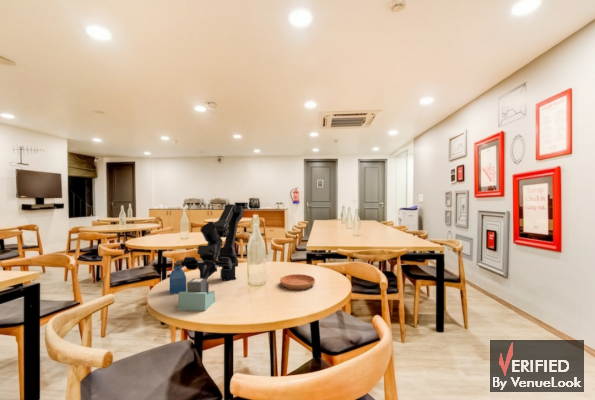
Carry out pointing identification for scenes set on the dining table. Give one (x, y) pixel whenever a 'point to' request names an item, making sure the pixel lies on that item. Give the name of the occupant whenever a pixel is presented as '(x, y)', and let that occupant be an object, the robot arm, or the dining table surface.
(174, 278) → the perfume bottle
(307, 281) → the saucer
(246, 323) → the dining table surface
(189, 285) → the grey block
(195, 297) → the socket
